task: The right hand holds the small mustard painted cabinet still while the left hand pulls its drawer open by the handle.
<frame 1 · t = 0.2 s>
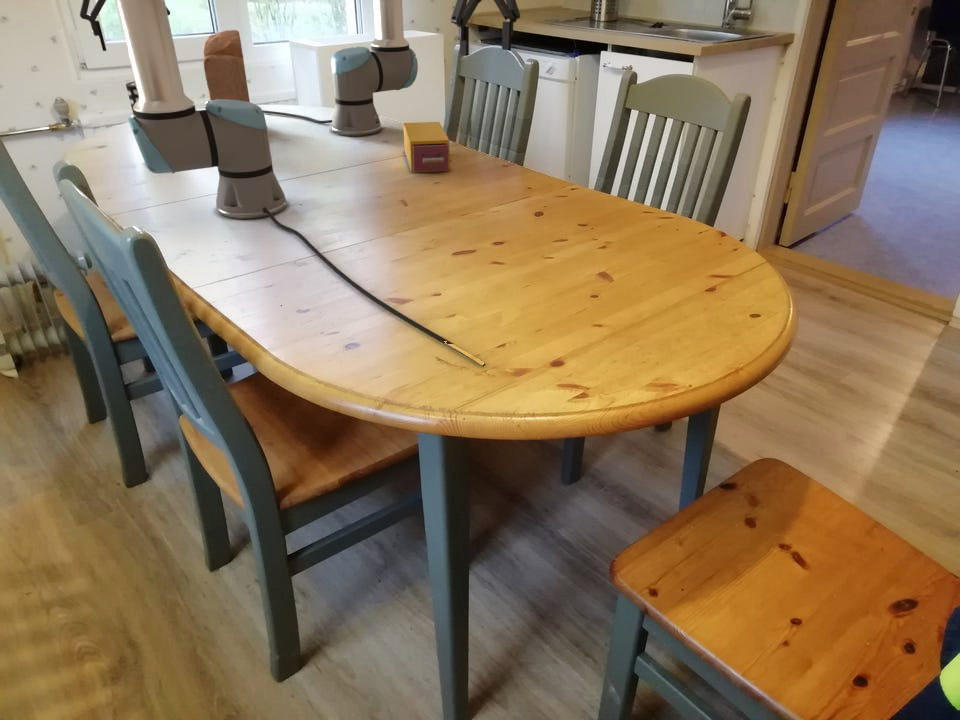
left hand: (134, 48, 174), 28 cm above the table, tool pointing down, fingers open, 13 cm apart
right hand: (485, 52, 176), 28 cm above the table, tool pointing down, fingers open, 13 cm apart
drawer: (428, 151, 183), point 4 cm above the table, slide at 0.7 cm
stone: (235, 132, 213), on the table
cabinet: (426, 161, 190), on the table
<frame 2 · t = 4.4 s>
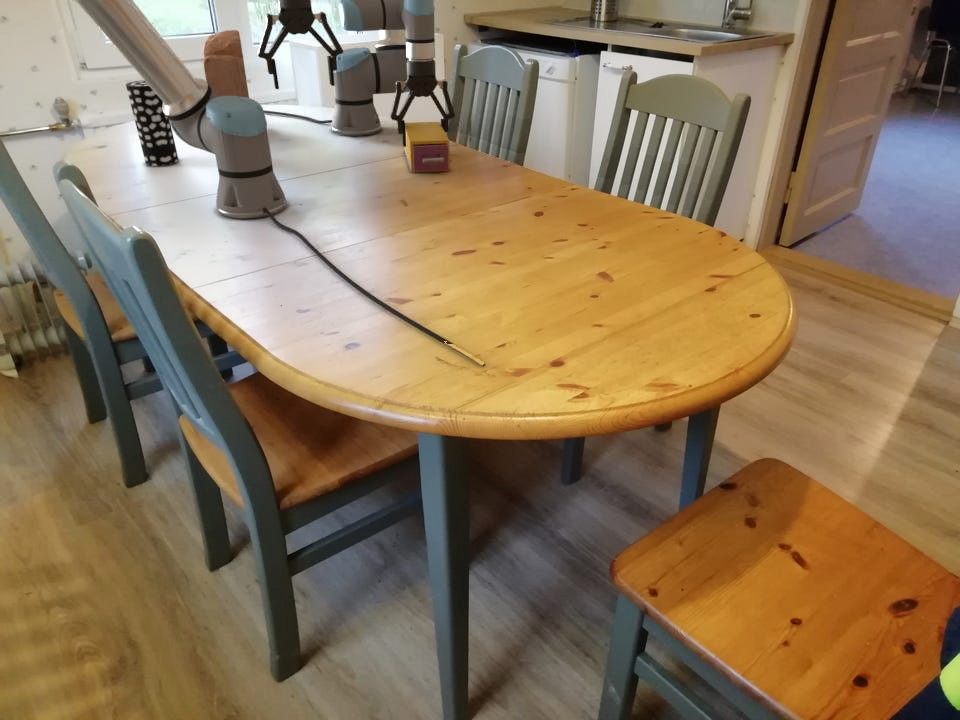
left hand: (304, 86, 172), 21 cm above the table, tool pointing down, fingers open, 13 cm apart
right hand: (423, 144, 193), 3 cm above the table, tool pointing down, fingers closed on cabinet, 10 cm apart
cabinet: (426, 161, 190), on the table, touching right hand
everything else where it was.
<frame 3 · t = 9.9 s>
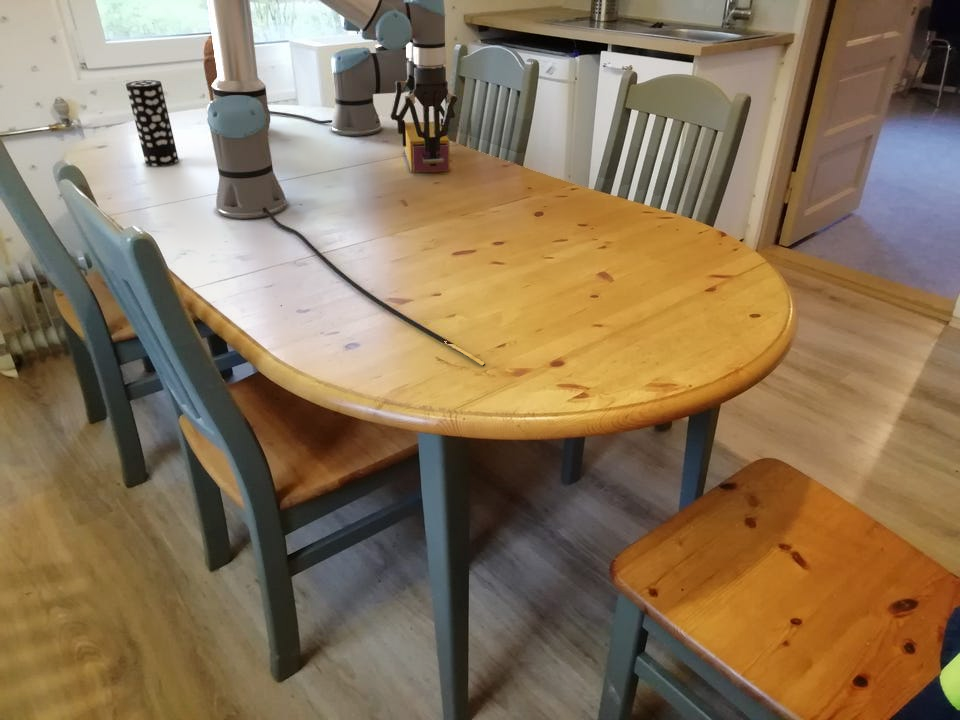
left hand: (432, 164, 176), 3 cm above the table, tool pointing down, fingers closed
right hand: (423, 144, 193), 3 cm above the table, tool pointing down, fingers closed on cabinet, 10 cm apart
drawer: (428, 151, 183), point 4 cm above the table, slide at 0.9 cm, touching left hand
cabinet: (426, 161, 190), on the table, touching right hand
everything else where it was.
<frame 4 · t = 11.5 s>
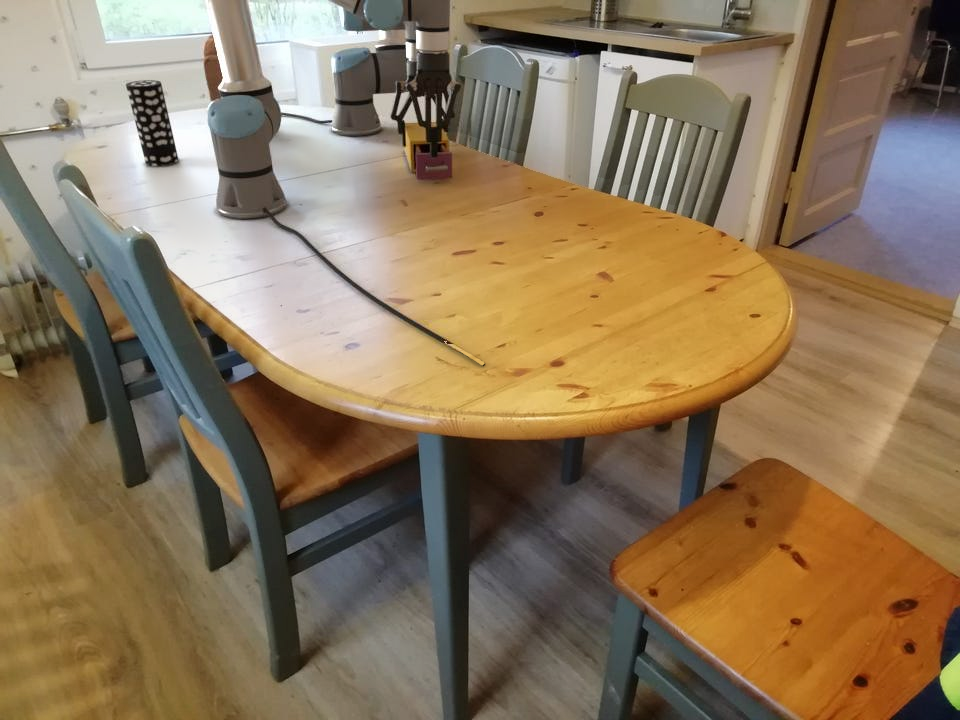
left hand: (433, 155, 168), 8 cm above the table, tool pointing down, fingers closed
right hand: (423, 144, 193), 3 cm above the table, tool pointing down, fingers closed on cabinet, 10 cm apart
drawer: (431, 159, 178), point 4 cm above the table, slide at 7.7 cm
cabinet: (426, 161, 190), on the table, touching right hand
everything else where it was.
when the right hand's fingers open (3 cm above the table, at t = 12.8 s): cabinet stays where it is, on the table.
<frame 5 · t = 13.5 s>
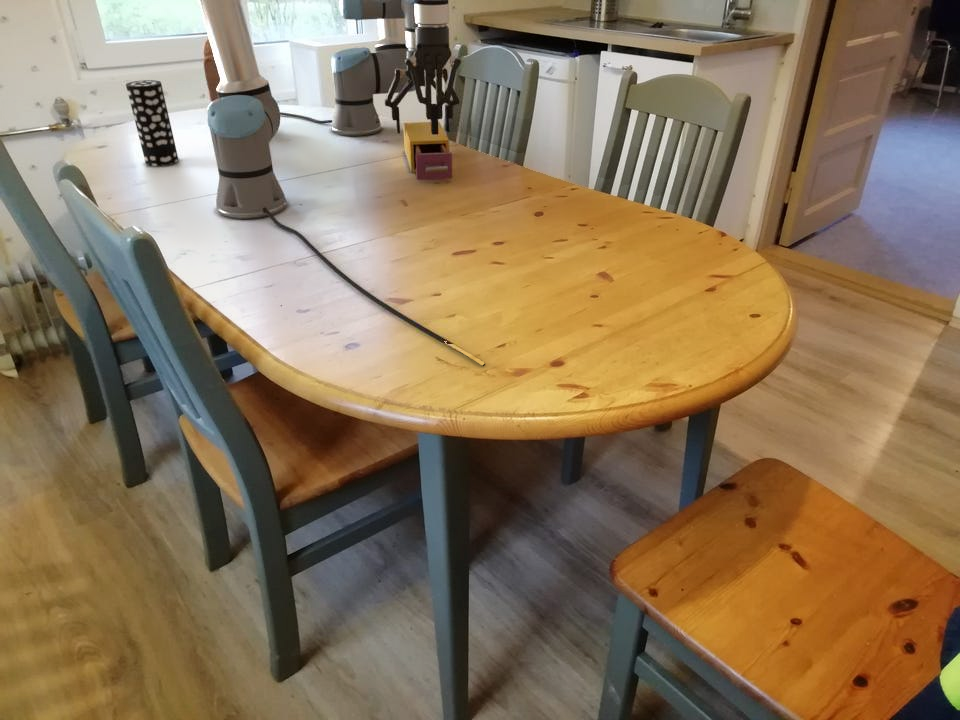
left hand: (434, 132, 166), 13 cm above the table, tool pointing down, fingers closed
right hand: (422, 131, 191), 7 cm above the table, tool pointing down, fingers open, 13 cm apart
cabinet: (426, 161, 190), on the table
everything else where it was.
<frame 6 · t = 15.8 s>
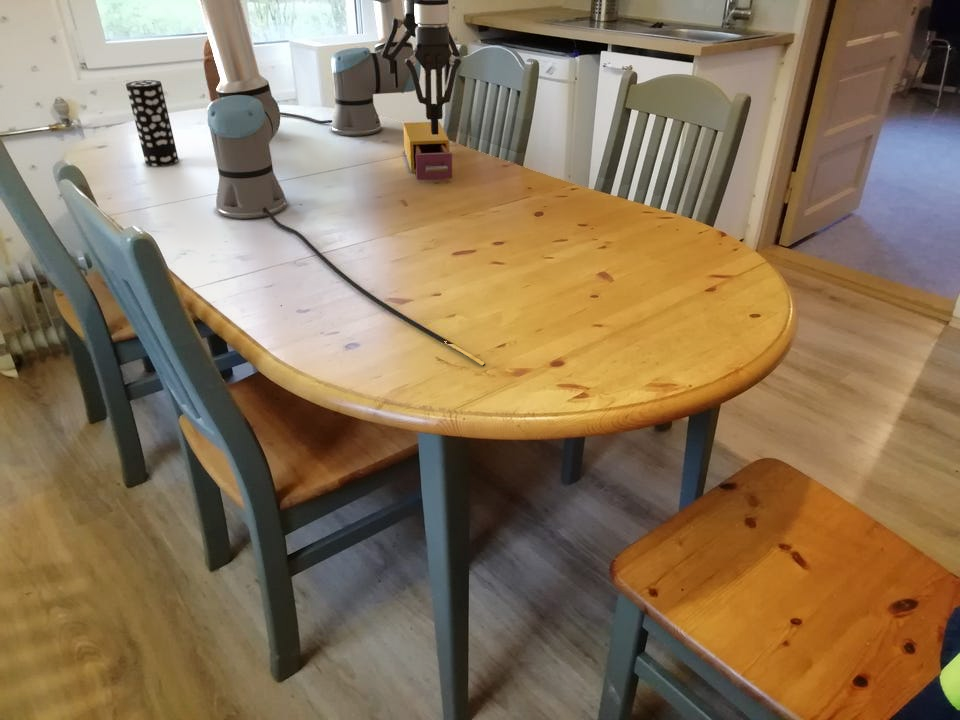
left hand: (434, 132, 166), 13 cm above the table, tool pointing down, fingers closed
right hand: (421, 86, 184), 19 cm above the table, tool pointing down, fingers open, 13 cm apart
nothing on the table moved.
at the end: drawer slide at 7.7 cm; cabinet tilted 0°; cabinet never tilted more than 1° during the clip; cabinet moved 0.0 cm from its start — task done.
